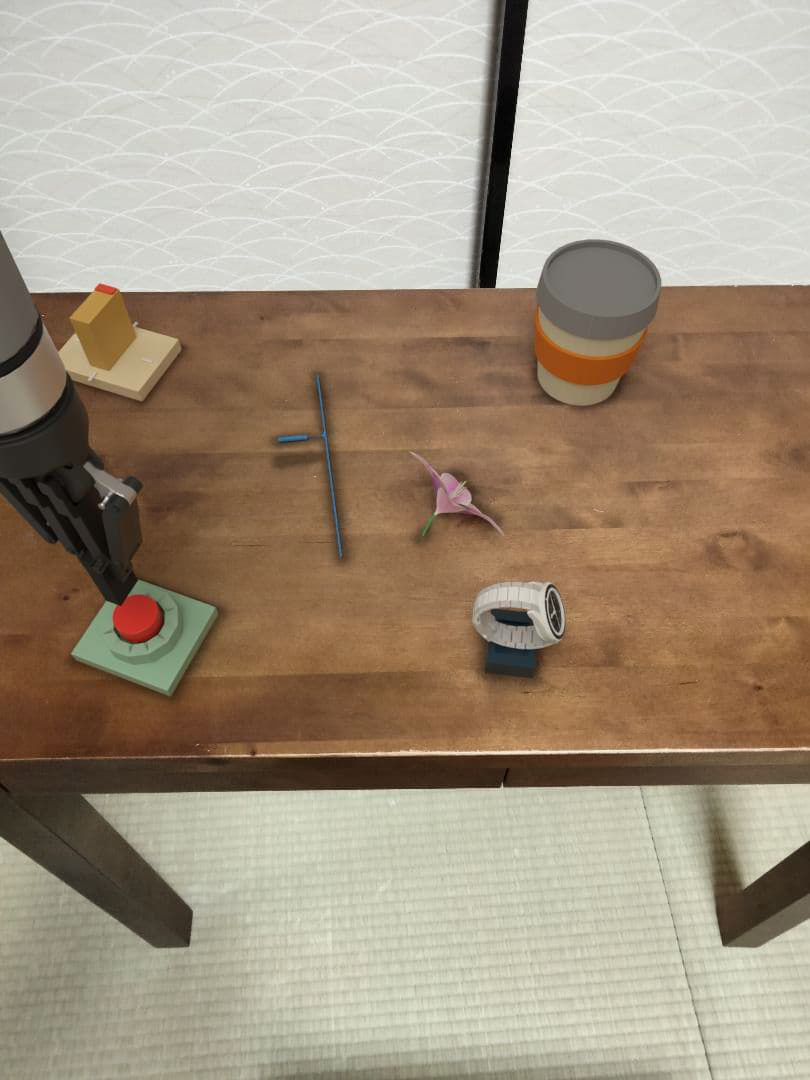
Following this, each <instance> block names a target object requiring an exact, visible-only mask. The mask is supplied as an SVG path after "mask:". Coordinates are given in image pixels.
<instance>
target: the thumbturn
mask: <svg viewBox="0 0 810 1080" xmlns="http://www.w3.org/2000/svg"><path fill="white" fill-rule="evenodd" d="M69 320H70V323H71V325H72V327H73V330H74V333H75V332H76V334H77V337H78V339H79V341H80V343H81V346H82V348H83V350H84V352H85V355H86V357H87V359H88V361H89V364H90V365H91V366H94V367H97V368H101V369H104V370H107V371H109V370H110V369H111V368H112V366H113V365H114V364H115V363H116V361H117V360H118V359H119V358H120V357H121V355H122V354H123V353H124V352H125V350H126V349H127V348H128V347H129V346H130V344H131V343H132V342H133V341H134V339H135V338H136V334H135V331H134V328H133V326H132V325H133V324H132V320H131V318H130V314H129V312H128V310H127V307H126V304H125V301H124V298H123V295H122V293H121V290H120V288H117V287H115V286H111V285H107V284H104V283H101V282H99V283H98V284H97V285H96V286H95V288H94V290H92V292H91V293H90V294H89V296H88V297H87V298H85V300H84V301H83V302H82V303H81V304H80V305H79V306H78V308H77V309H76V310H75V311H74V312H73V313H72V314H71V316H70V317H69Z"/></svg>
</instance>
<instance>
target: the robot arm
mask: <svg viewBox="0 0 810 1080" xmlns="http://www.w3.org/2000/svg"><path fill="white" fill-rule="evenodd" d="M13 256H14V255H13V254H12V252H11V250H10V248H9V246H8V243H7V242H6V239H5V237H4V235H3V233H2V231H1V230H0V494H1V495H2V496H3V497H4V498H5V499H6V501H8V502H9V504H10V505H11V506H12V507H13V508H14V509H15V510H16V512H18V513H19V514H20V516H21V517H22V518H23V519H24V520H25V521H26V522H27V523H28V525H30V527H32V528H33V530H34V531H35V532H36V533H37V534H38V535H39V537H41V538H42V539H43V540H44V541H45V542H46V543H48V544H50V545H56V544H57V543H58V542H60V544H61V546H62V547H63V548H64V549H65V552H67V553H68V554H70V555H73V556H76V558H77V560H78V561H79V563H80V564H81V566H82V567H83V568H84V569H85V570H86V572H87V573H88V575H89V577H90V579H91V580H92V581H93V583H94V585H95V586H96V588H97V589H98V591H99V592H100V594H101V595H102V597H103V599H104V601H105V602H106V601H108V602H111V603H113V604H116V605H119V606H122V604H123V603H124V601H125V600H126V598H127V597H128V595H129V594H130V592H131V591H132V589H133V587H134V586H135V584H136V583H137V581H138V580H139V579H138V577H137V575H136V574H135V572H134V570H133V569H134V565H133V563H132V560H133V558H134V557H135V555H136V553H137V552H138V550H139V549H140V548H141V546H142V545H143V542H144V541H143V534H142V533H143V532H142V526H141V520H140V519H141V518H140V512H139V511H140V510H139V503H138V495H139V493H140V492H141V491H142V489H143V488H144V485H143V483H142V482H141V481H140V480H139V479H138V478H137V477H135V476H132V475H128V476H126V478H125V479H122V478H120V477H118V478H117V477H114V476H113V475H111V474H109V472H107V471H105V463H104V461H103V459H102V457H101V456H100V455H98V454H97V452H95V451H94V449H93V448H92V447H91V445H90V443H89V441H90V439H89V435H90V418H89V414H88V410H87V407H86V406H85V403H84V402H83V400H82V398H81V396H80V393H79V391H78V389H77V387H76V385H75V383H74V380H72V379H71V377H70V375H69V374H68V373H67V371H66V370H65V366H64V364H63V362H62V360H61V358H60V356H59V354H58V352H59V351H58V350H57V347H56V345H55V344H54V341H53V340H52V338H51V335H50V334H49V331H48V330H47V328H46V326H45V323H44V321H43V320H42V316H41V314H40V312H39V309H38V308H37V305H36V303H35V301H34V299H33V297H32V295H31V293H30V291H29V288H28V286H27V284H26V282H25V280H24V278H23V276H22V274H21V271H20V270H19V267H18V265H17V263H16V261H15V258H14V257H13Z"/></svg>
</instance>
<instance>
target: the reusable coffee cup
mask: <svg viewBox="0 0 810 1080" xmlns="http://www.w3.org/2000/svg"><path fill="white" fill-rule="evenodd" d="M661 291H662V277H661V273H660V271H659V269H658V267H657V266H656V264H655V263H654V262H653V261H652V260H651V259H650V258H649V257H648V256H646V255H645V254H644V253H643V252H642V251H639V250H638V249H635V248H634V247H632V246H630V245H627V244H624V243H621V242H617V241H613V240H609V239H599V238H598V239H597V238H596V239H594V238H593V239H589V238H587V239H581V240H576V241H572V242H568V243H565V244H564V245H562V246H560V247H558V248H556V249H555V250H554V251H552V252H551V253H550V254H549V256H547V258H546V259H545V262H544V264H543V266H542V270H541V272H540V276H539V280H538V283H537V286H536V292H535V297H536V302H537V305H536V308H535V311H534V337H533V338H534V341H533V342H534V343H533V346H534V353H535V356H536V358H537V380H538V382H539V385H540V386H541V388H542V389H543V391H544V392H546V394H547V395H549V397H552V398H553V399H554V400H557V401H559V402H561V403H564V404H567V405H572V406H591V405H595V404H599V403H601V402H603V401H605V400H607V399H608V398H609V397H610V396H612V394H613V393H614V391H615V390H616V388H617V386H618V384H619V382H620V380H621V378H622V377H623V376H624V375H625V374H626V373H627V372H628V371H629V369H630V368H631V366H632V365H633V362H634V361H635V359H636V357H637V354H639V350H640V349H641V346H643V343H644V341H645V339H646V336H647V334H648V329H649V328H648V327H649V325H651V323H652V322H653V320H654V319H655V317H656V314H657V311H658V307H659V302H660V296H661Z"/></svg>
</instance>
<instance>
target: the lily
mask: <svg viewBox="0 0 810 1080" xmlns="http://www.w3.org/2000/svg"><path fill="white" fill-rule="evenodd" d="M409 453H410V454H411V455H412V456H414V458H416V459H417V460H418V461H420V463H421V464H422V465H423V466H424V467H425V468H426V469H427V471H428V473H429V474H430V477H431V482H432V485H433V490H434V491H433V492H434V497H435V498H434V499H435V505H436V509H435V511H434V513H433V514H432V516H431V517H430V518H429V520H428V522H427V524H426V526H425V527H424V529H423V532H422V533H421V536H422V537H425V536H426V534H427V532H428V530H429V528H430V526H431V525H432V522H434V520H435V518H436V517H437V516H438V515H439V514H465V515H474V516H478V517H480V518H482V519H484V520H486V521H487V522H488V523H490V524H491V526H493V527H494V528H495V529H496V530H497V532H499V533H500V534H501V535H502V536H503V537H504V538H506V535H505V533H504V532H503V530H502V529H501V528H500V526H499V525H497V523H496V522H495V521H494V520H493V519H492V518H490V517H489V516H487V515H486V514H484V513H482V511H481V510H479V508H477V507H476V506H475V505H474V504H472V503H471V502H472V498H473V497H472V494H471V492H470V491H469V490H468V489H467V488H468V486H465V484H466V483H467V482H468V479H466V480H465V481H463V479H461V480H460V482H459V481H458V479H457V478H456V477H455V476H453V475H452V474H451V473H449V472H443V473H441V475H440V474H438V472H437V471H436V470H434V469H433V467H431V466H430V464H429V463H428V462H427V460H425V459H424V458H423V457H422V456H420V455H419V454H417V453H415V452H413V451H409ZM462 482H463V483H462Z"/></svg>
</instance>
